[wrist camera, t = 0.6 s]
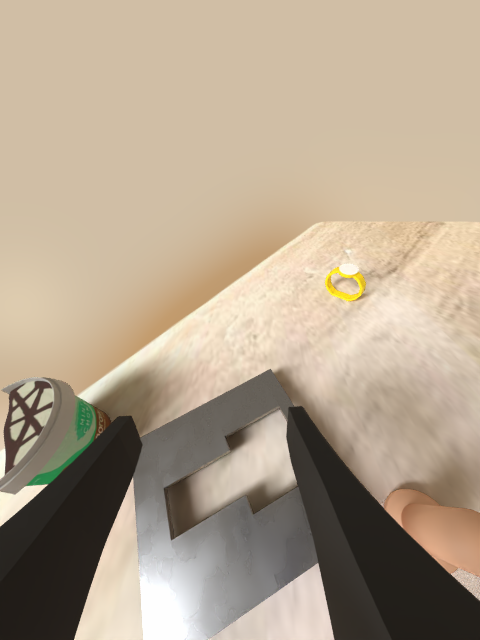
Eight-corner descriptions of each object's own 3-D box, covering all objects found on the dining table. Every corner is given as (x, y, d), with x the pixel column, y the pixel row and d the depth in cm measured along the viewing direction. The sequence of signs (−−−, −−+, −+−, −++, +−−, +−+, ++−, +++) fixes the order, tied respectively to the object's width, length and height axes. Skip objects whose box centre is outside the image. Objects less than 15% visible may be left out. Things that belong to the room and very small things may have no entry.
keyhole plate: (361, 522, 19) (369, 526, 17) (163, 660, 16) (146, 682, 14) (271, 376, 29) (270, 368, 27) (142, 446, 26) (131, 442, 24)
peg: (471, 548, 17) (573, 580, 11) (423, 586, 16) (503, 643, 10) (412, 478, 20) (465, 472, 14) (370, 506, 19) (407, 513, 13)
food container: (131, 454, 26) (66, 438, 18) (83, 494, 24) (-11, 494, 17) (108, 385, 33) (55, 353, 26) (70, 411, 32) (0, 386, 24)
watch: (361, 298, 35) (374, 271, 30) (353, 308, 34) (366, 281, 29) (328, 284, 38) (335, 257, 33) (320, 293, 37) (327, 267, 32)
